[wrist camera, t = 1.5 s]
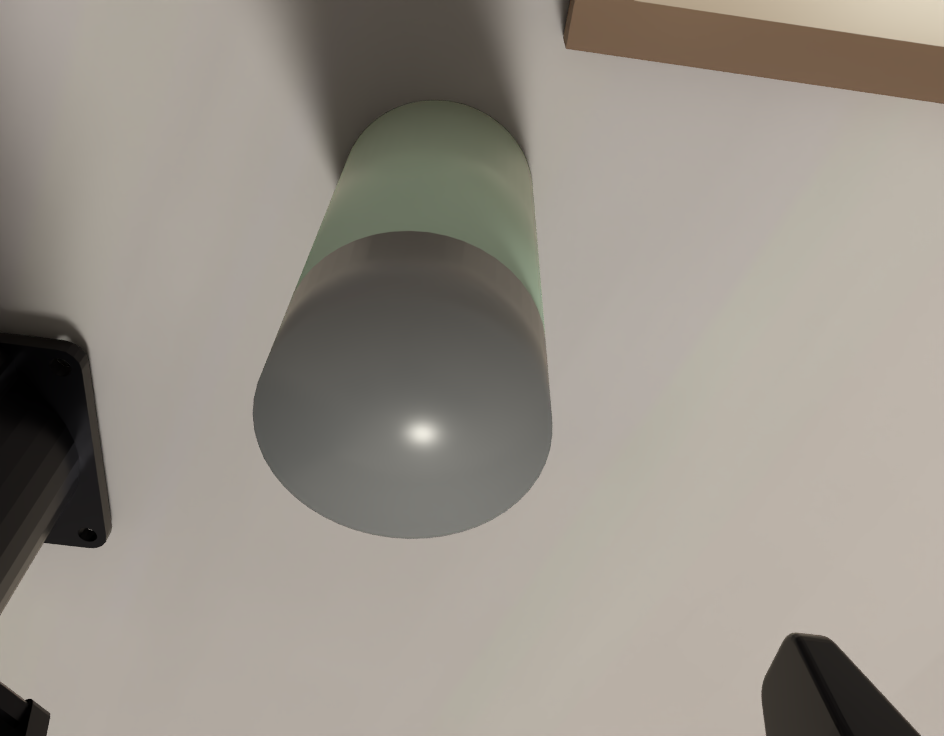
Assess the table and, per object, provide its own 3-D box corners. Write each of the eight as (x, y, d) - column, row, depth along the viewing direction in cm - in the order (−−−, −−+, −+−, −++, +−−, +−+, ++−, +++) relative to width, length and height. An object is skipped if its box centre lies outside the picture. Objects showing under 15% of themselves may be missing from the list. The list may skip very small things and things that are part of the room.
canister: (516, 289, 19) (525, 552, 13) (338, 266, 19) (253, 521, 13) (548, 114, 17) (579, 324, 11) (347, 86, 17) (251, 282, 10)
